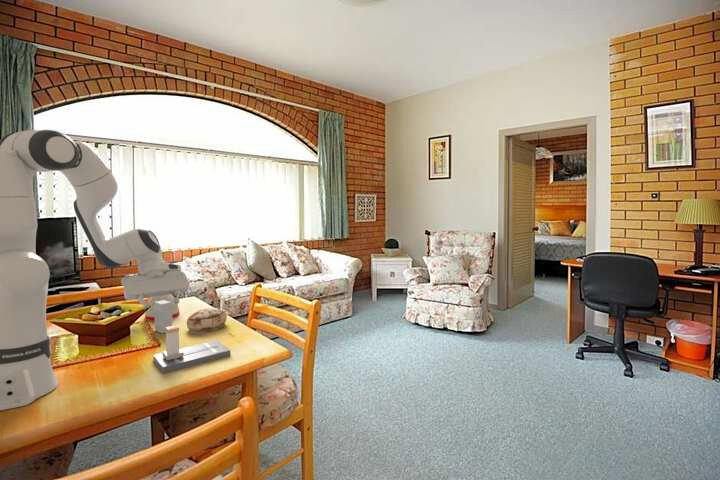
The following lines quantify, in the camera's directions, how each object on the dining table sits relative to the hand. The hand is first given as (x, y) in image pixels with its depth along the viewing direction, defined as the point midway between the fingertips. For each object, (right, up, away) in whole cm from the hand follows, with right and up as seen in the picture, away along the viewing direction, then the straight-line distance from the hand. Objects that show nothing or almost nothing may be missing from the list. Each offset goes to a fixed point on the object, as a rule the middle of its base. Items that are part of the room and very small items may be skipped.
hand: (162, 305), depth 127 cm
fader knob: (+7, -15, -7) cm, 18 cm away
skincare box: (-12, -15, +23) cm, 30 cm away
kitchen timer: (-23, -13, +43) cm, 50 cm away
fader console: (+12, -17, -3) cm, 21 cm away
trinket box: (+4, -15, +28) cm, 32 cm away
